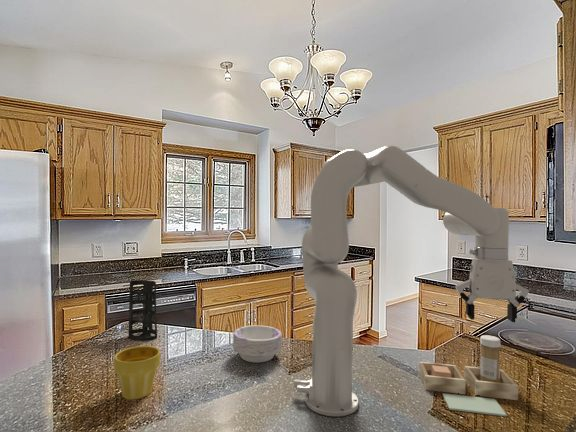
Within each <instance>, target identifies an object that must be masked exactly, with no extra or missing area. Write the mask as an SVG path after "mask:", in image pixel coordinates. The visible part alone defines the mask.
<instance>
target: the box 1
mask: <svg viewBox="0 0 576 432" xmlns="http://www.w3.org/2000/svg"><path fill="white" fill-rule="evenodd" d="M432 365H434V366H444V367H448V369H449V371H450V372H451V378H450V377H440V376H431V375H432ZM418 375H419V377H420V379H421V383H422V385H423V388H424V390H425V391H431V390H433V391H432V392H440V391H442V392H441V393H448V394H451V393H452V394H458V393H459V394H458V395H466V386H467V385H466V383H467V382H466V380H465V379H464V375H462V373H461V371H460V370H459V368H458V366H457V365H456V364H448V363H447V364H446V363H438V362H437V363H436V362H428V361H427V362H426V361H419V362H418Z"/></svg>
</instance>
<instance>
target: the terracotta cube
mask: <svg viewBox="0 0 576 432" xmlns="http://www.w3.org/2000/svg"><path fill="white" fill-rule="evenodd" d="M431 376H440V377H450V378H451V372H450V371H449V369H448V367H444V366H434V365H432V375H431Z"/></svg>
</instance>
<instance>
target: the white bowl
mask: <svg viewBox="0 0 576 432" xmlns="http://www.w3.org/2000/svg"><path fill="white" fill-rule="evenodd" d="M232 335H233V336H232V339H233V340H232V349H233V350H234V352H235V353H238V355H239V356H240V357H241V359H242V360H244V361H245V362H247V363H248V362H249V363H254V364H255V363H257V364H258V363H259V364H260V363H265V362H268V361H270V360H272V359H273V358H274V356H275V355H276V354H278V353H279V352H280V351H281V350H282V340H283V333H282V331H281V330H280V329H278V328H276V327H273V326H268V325H254V324H253V325H246V326H241V327H239V328H236V329H235V330H234V331H233V334H232Z"/></svg>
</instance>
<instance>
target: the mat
mask: <svg viewBox="0 0 576 432" xmlns="http://www.w3.org/2000/svg"><path fill="white" fill-rule="evenodd" d="M442 397H443V399H444V401H445V403H446V406H447V407H448V409H449V410H450V411H458V412H464V413H465V412H466V413H473V414H475V413H476V414H482V415H491V416H498V417H507V416H508V414H507V412H506V411H505V410H504V409H503V408H502V407H501V405H500V403H498V401H497V400H496V398H490V397H481V396H471V395H463V394H455V393H452V394H451V393H446V392H442Z"/></svg>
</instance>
